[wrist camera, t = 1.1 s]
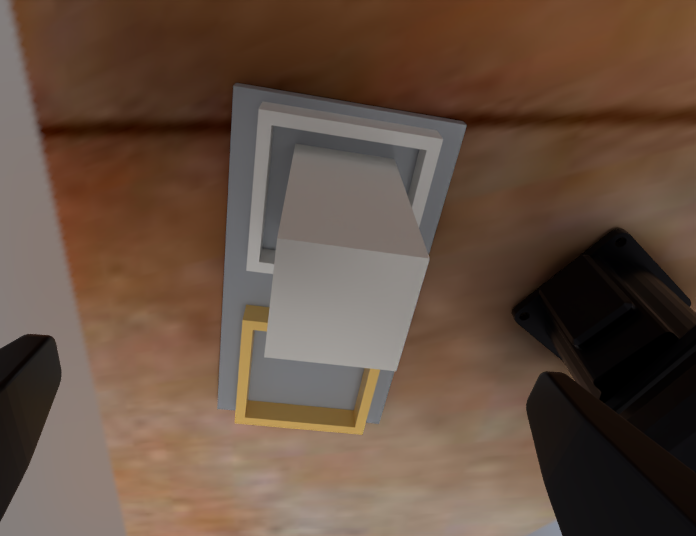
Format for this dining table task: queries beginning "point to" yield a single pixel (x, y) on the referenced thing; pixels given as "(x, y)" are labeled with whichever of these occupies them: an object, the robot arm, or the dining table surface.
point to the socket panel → (261, 238)
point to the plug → (344, 262)
